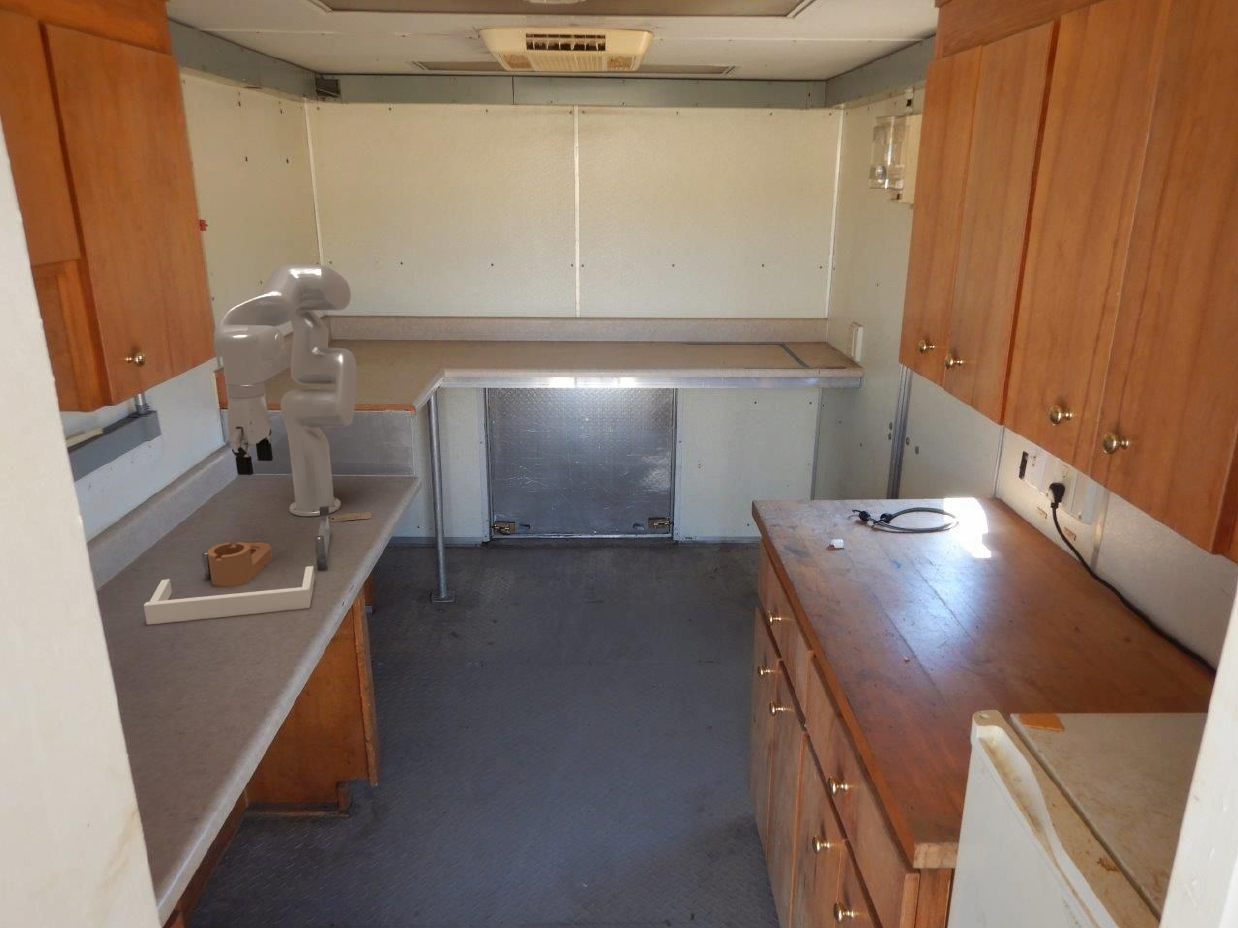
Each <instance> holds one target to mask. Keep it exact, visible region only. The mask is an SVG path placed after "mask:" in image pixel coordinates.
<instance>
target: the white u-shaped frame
mask: <svg viewBox="0 0 1238 928" xmlns="http://www.w3.org/2000/svg"><path fill="white" fill-rule="evenodd" d="M315 579H316V578H315V569H314V565H311V566H305V569H304V575H303V580H302V585H301V586H300V587H289V588H288V587H287V588H280V589H268V590H258V591H247V592H240V593H239V592H237V593H229V594H227V593H226V594H218V595H207V596H206V595H205V596H198V597H197V596H196V597H185V598H177V599H176V598H175V599H169V598H170V597H171V595H172V593H173V591H172V585H171V579H170V578H167V579H162V580H160V581H159V582H160V583H159V584H158V585H157V587H156V590H155V591H154V593H153V595H152V597H151V598H150V600H149V601H146V602H145V603H144V604H143V609H144V614H145V620H146V625H157V624H158V625H159V624H167V623H177V622H188V621H197V620H205V619H207V620H208V619H216V618H224V617H235V616H245V615H246V616H247V615H253V614H262V613H274V612H284V611H295V610H301V609H302V610H303V609H310V607H311V604H312V603H311V602H312V597H313V591H314V585H315Z"/></svg>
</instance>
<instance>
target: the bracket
mask: <svg viewBox="0 0 1238 928" xmlns="http://www.w3.org/2000/svg"><path fill="white" fill-rule="evenodd" d="M271 547H272V546H271V545H270V544H269V543H266V542H248V543H247V542H244V541H237V542H236V543H235V544H234V545H233V543H232V541H230V542H228V541H227V542H223V543H220V544H217V545H214V546H212V547H210V548H209V549H208V550H207V551H208V559H209V566H210V573H211V580H210V581H211V584H212V585H213V586H215V587H220V588H222V587H223V588H224V587H225V588H230V587H236V586H241V585H244V584H247V583H248V582H250V581H252V580H253V579H254V578H255V577H256V576H257V575H258V574H259V573H260V572H261V570H263V568H265V567H266V566H267V564H269V563H270V562H271V561H272V560H273V559H272V558H273V554H272V548H271Z"/></svg>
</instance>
